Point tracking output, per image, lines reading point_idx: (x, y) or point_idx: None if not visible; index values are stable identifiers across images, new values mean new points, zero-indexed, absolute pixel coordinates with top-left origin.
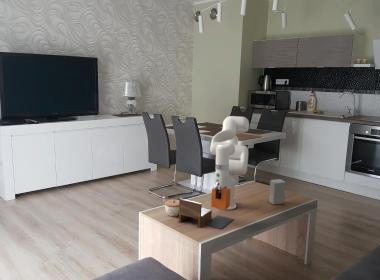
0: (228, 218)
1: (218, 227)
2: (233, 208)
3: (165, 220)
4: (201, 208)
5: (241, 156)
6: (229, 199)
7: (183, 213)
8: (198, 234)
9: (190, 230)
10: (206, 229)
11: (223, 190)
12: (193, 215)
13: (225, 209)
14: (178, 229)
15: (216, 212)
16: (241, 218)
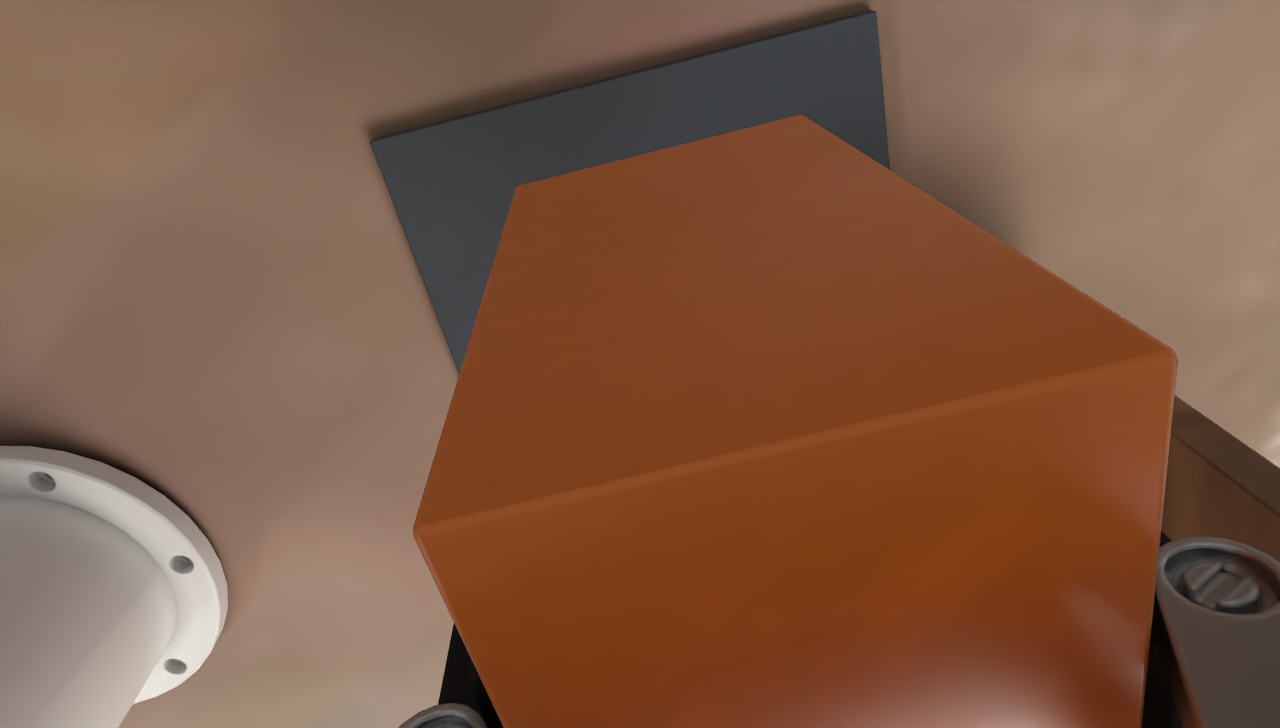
0: (420, 226)
1: (873, 81)
2: (16, 450)
3: None
4: None
5: None
6: (543, 249)
7: None
8: (1266, 140)
9: (1193, 314)
10: (1032, 184)
11: (1111, 550)
12: None
13: (789, 118)
14: (1243, 431)
15: (384, 513)
16: (173, 76)
